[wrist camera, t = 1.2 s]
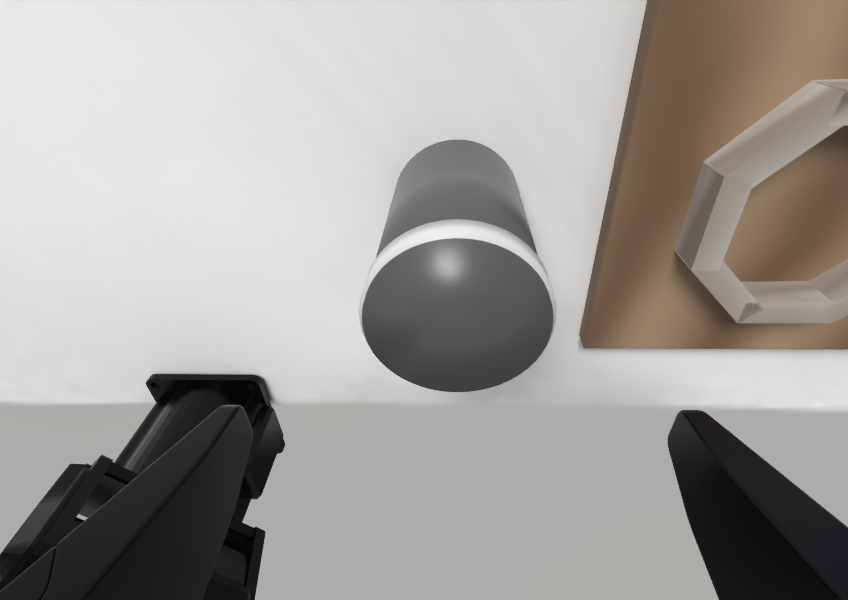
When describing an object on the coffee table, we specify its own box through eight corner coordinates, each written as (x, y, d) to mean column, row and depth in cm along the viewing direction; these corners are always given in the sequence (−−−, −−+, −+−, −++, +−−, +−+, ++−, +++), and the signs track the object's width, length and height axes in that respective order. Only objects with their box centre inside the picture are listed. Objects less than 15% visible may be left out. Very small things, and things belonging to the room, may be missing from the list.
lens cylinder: (397, 258, 20) (369, 393, 13) (386, 139, 17) (343, 240, 10) (515, 256, 20) (545, 395, 13) (525, 135, 17) (571, 236, 10)
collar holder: (579, 334, 22) (592, 370, 20) (651, -16, 14) (685, -15, 12) (886, 334, 21) (932, 373, 19) (1160, -44, 13) (1295, -48, 11)
